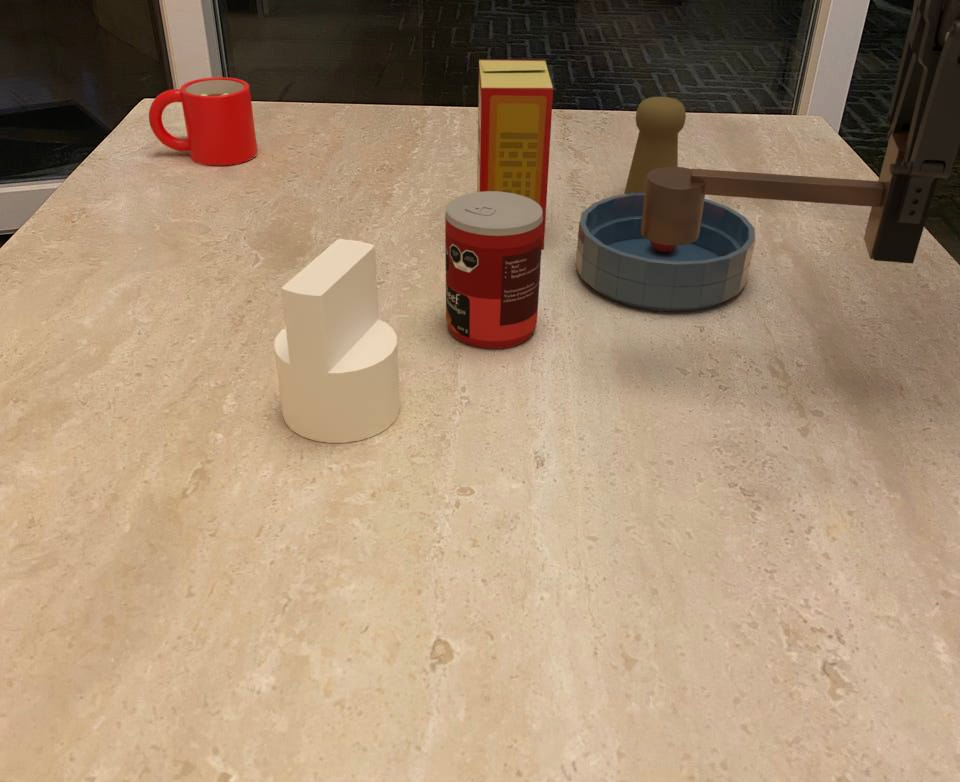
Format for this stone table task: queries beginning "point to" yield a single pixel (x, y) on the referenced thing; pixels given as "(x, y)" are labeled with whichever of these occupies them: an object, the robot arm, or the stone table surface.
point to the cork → (655, 139)
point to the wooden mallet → (756, 195)
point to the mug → (210, 120)
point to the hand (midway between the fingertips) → (888, 246)
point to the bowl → (663, 257)
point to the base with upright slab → (337, 349)
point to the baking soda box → (514, 128)
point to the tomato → (662, 247)
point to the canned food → (492, 268)
